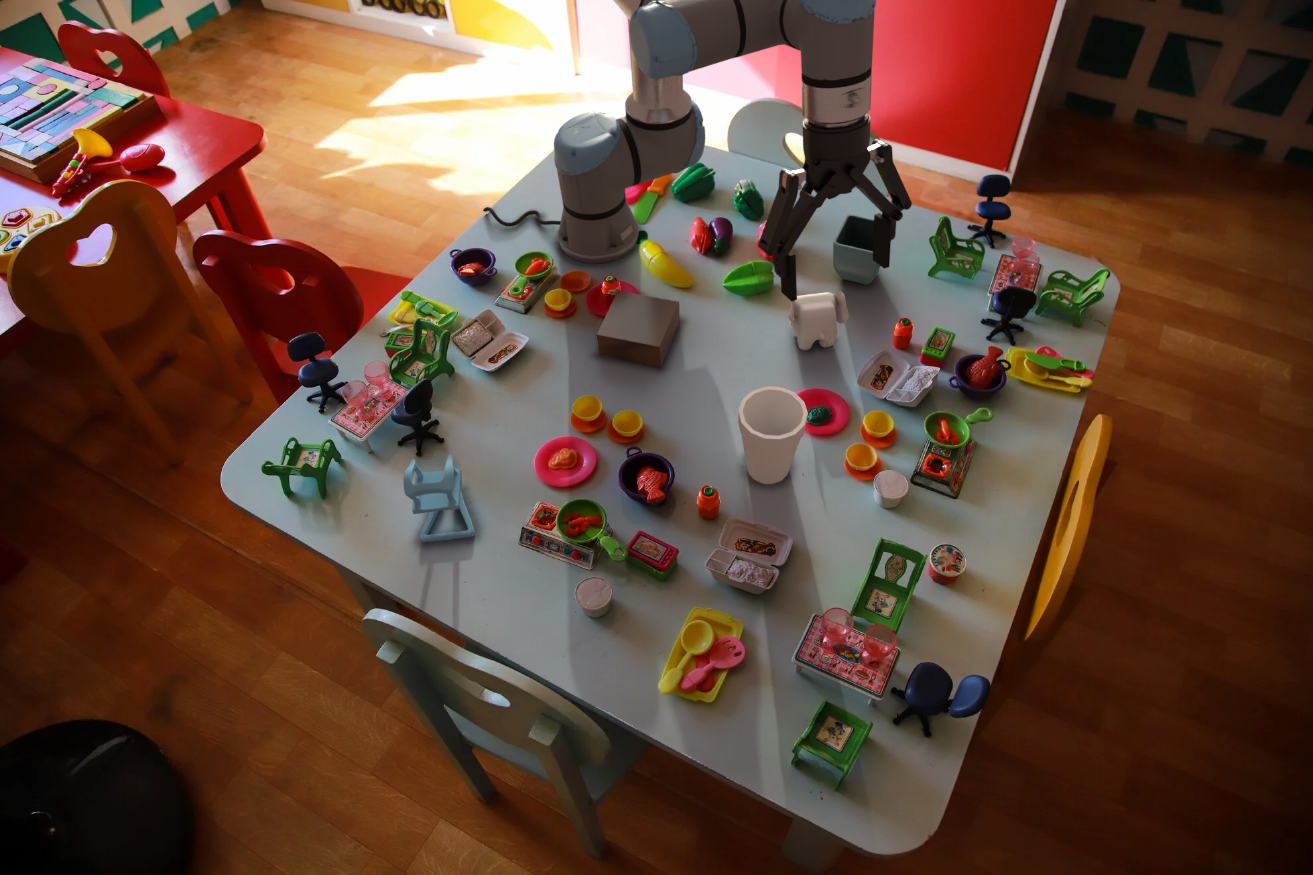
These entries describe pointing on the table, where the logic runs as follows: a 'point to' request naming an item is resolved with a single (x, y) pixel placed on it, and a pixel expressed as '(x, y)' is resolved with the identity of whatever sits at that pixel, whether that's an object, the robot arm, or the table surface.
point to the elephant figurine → (817, 318)
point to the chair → (437, 497)
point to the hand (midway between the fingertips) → (835, 279)
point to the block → (638, 328)
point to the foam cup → (771, 431)
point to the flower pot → (855, 250)
